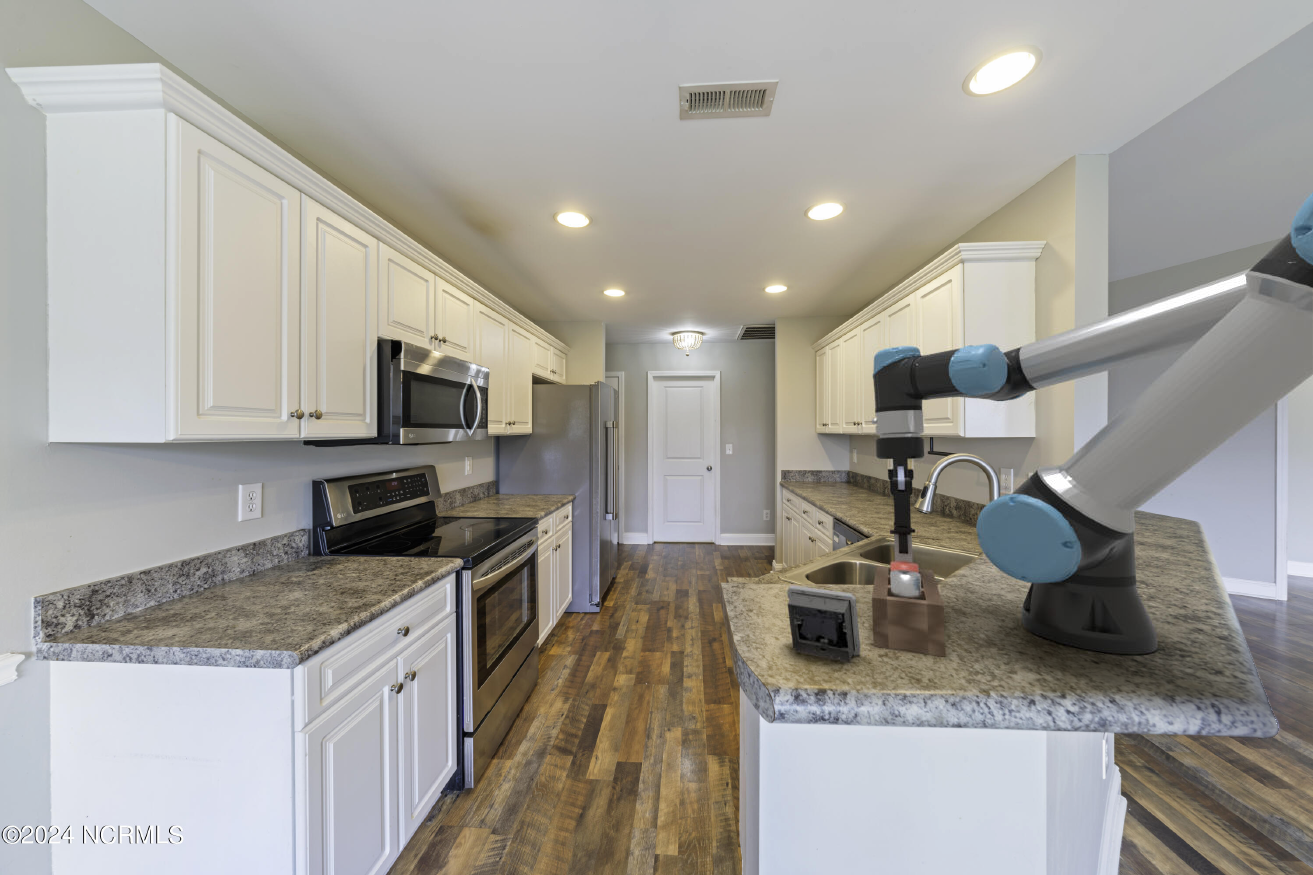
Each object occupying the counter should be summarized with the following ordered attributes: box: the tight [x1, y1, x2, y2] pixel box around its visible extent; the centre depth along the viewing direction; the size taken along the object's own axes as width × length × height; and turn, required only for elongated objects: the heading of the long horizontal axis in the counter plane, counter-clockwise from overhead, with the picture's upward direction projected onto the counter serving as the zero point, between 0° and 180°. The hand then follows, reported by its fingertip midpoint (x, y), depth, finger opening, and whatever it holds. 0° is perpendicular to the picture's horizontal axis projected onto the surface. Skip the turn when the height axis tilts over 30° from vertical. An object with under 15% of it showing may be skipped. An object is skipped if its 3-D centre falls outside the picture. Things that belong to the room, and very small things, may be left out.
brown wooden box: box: [871, 565, 946, 658], centre depth 76 cm, size 9×21×7 cm, turn 153°
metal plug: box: [890, 570, 921, 600], centre depth 70 cm, size 4×4×6 cm
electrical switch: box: [786, 584, 861, 664], centre depth 66 cm, size 9×5×9 cm, turn 57°
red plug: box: [890, 560, 920, 573], centre depth 76 cm, size 4×4×6 cm
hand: (904, 570), depth 82 cm, fingers closed
